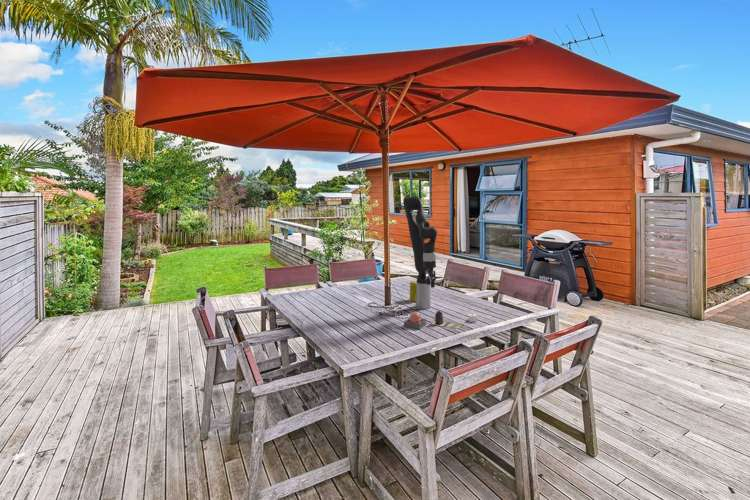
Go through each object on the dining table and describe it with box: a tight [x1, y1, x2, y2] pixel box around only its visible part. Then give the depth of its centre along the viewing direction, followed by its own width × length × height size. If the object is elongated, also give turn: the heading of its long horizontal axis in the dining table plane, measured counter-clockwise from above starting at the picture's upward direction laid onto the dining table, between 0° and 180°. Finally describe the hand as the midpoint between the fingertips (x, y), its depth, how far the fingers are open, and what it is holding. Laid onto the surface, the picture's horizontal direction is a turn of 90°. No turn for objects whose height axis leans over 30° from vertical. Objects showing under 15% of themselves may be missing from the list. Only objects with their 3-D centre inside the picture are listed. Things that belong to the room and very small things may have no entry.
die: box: [468, 313, 478, 323], centre depth 218 cm, size 4×4×4 cm
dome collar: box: [403, 317, 427, 330], centre depth 211 cm, size 10×10×4 cm
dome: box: [409, 312, 422, 323], centre depth 210 cm, size 6×6×6 cm
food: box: [409, 280, 417, 303], centre depth 269 cm, size 15×12×10 cm
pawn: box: [434, 310, 444, 325], centre depth 214 cm, size 4×4×7 cm
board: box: [428, 319, 465, 330], centre depth 212 cm, size 18×10×1 cm, turn 60°
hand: (430, 286), depth 227 cm, fingers open, 8 cm apart
